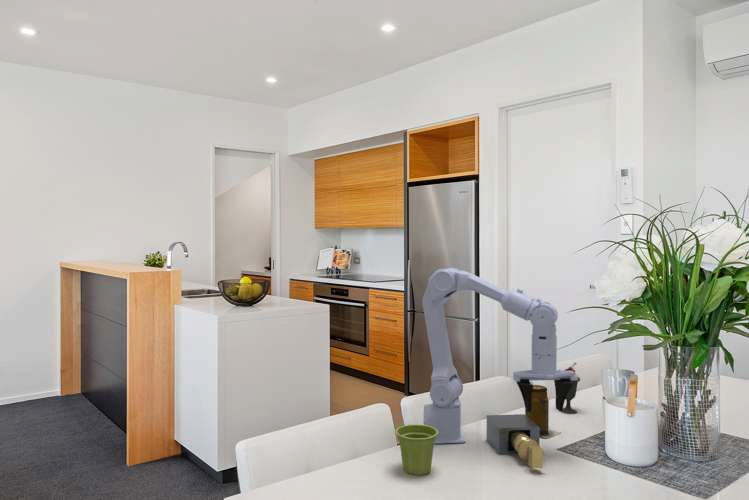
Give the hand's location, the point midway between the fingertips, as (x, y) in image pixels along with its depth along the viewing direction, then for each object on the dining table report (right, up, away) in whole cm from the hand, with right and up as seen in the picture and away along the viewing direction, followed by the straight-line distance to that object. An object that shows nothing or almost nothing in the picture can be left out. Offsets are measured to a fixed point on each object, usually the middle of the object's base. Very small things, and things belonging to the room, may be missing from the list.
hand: (543, 410), depth 131 cm
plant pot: (-31, -11, -10) cm, 34 cm away
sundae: (+18, -11, +34) cm, 40 cm away
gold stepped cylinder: (-6, -10, -5) cm, 12 cm away
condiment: (+4, -11, +15) cm, 19 cm away
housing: (-6, -10, +4) cm, 13 cm away
